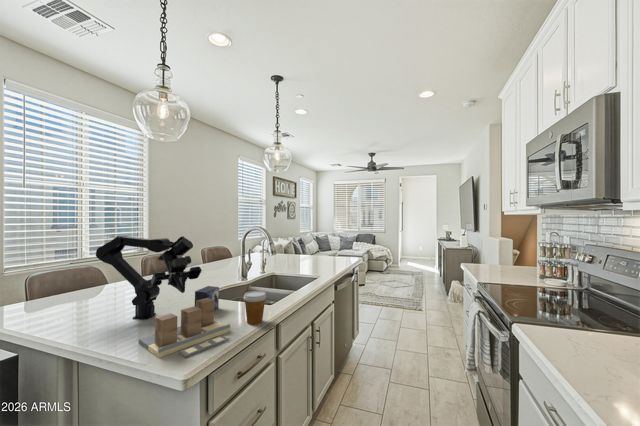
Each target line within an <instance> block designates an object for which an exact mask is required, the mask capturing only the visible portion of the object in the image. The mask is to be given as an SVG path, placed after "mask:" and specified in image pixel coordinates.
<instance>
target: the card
mask: <svg viewBox="0 0 640 426" xmlns="http://www.w3.org/2000/svg"><path fill="white" fill-rule="evenodd" d="M226 341H227V342H229V341H230V338H228V337H226V336H224V335H219V336H216V337H213V338H211V339H208V340H205V341H203V342H200V343H197V344H195V345H192V346H189V347H187V348H184V349H181V350H179V351H178V355H180V356H181V357H183V358H185V359H187V358H189V357H191V356H194V355H197V354H199V353H202V352H204V351H207V350H209V349H211V348H214V347H216V346H219V345H221V343H222V344H224V343H226Z"/></svg>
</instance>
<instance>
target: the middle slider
mask: <svg viewBox="0 0 640 426" xmlns="http://www.w3.org/2000/svg"><path fill="white" fill-rule="evenodd" d="M201 315H202V309H200V308H198V307H195V305H194V306H190V307H186V308H182V309H180V326H181V335H182V336H184V337H186V338H189V337H192V336H195V335H198V334H201Z"/></svg>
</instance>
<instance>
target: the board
mask: <svg viewBox="0 0 640 426" xmlns="http://www.w3.org/2000/svg"><path fill="white" fill-rule="evenodd" d="M229 332H231V324H230V323H227V324H223V323H221V322H219V321H216V320H214V323H211V324H208V325H205V326H201V334H198V335H195V336H192V337H189V338H186V337H184V336H182V335H181V325H179V326H177V342H175V343H172V344H169V345H166V346H163V347H161V348H160V347H159V346H157V345H155V333H154V334H151V335H148V336H143V337H141V338H139V339H138V344H139V345H141V347H143V348H145V349H146V350H148V351H149V352H151V354H153V355H155V356H156V357H157V358H162V357H165V356H167V355H170V354H173V353H176V352H179V351H182V350H185V349H187V348H190V347H193V346H195V345H198V344H201V343H203V342H206V341H209V340H212V339H214V338H217V337H220V336H222V335H224V334H226V333H229Z"/></svg>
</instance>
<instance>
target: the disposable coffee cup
mask: <svg viewBox="0 0 640 426" xmlns="http://www.w3.org/2000/svg"><path fill="white" fill-rule="evenodd" d="M242 297H243V300H244V305H245V307H244V308H245V316H246V323H247V324H248V325H250V324H251V325H252V326H254V325H253V324H256V325H260V324H262V323H263V319H264V311H265V303H266V299H267V295H266V292H265V291H260V290H253V291H252V290H251V291H247V292H245V293H244V295H243V296H242ZM261 322H262V323H261ZM259 323H260V324H259Z"/></svg>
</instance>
